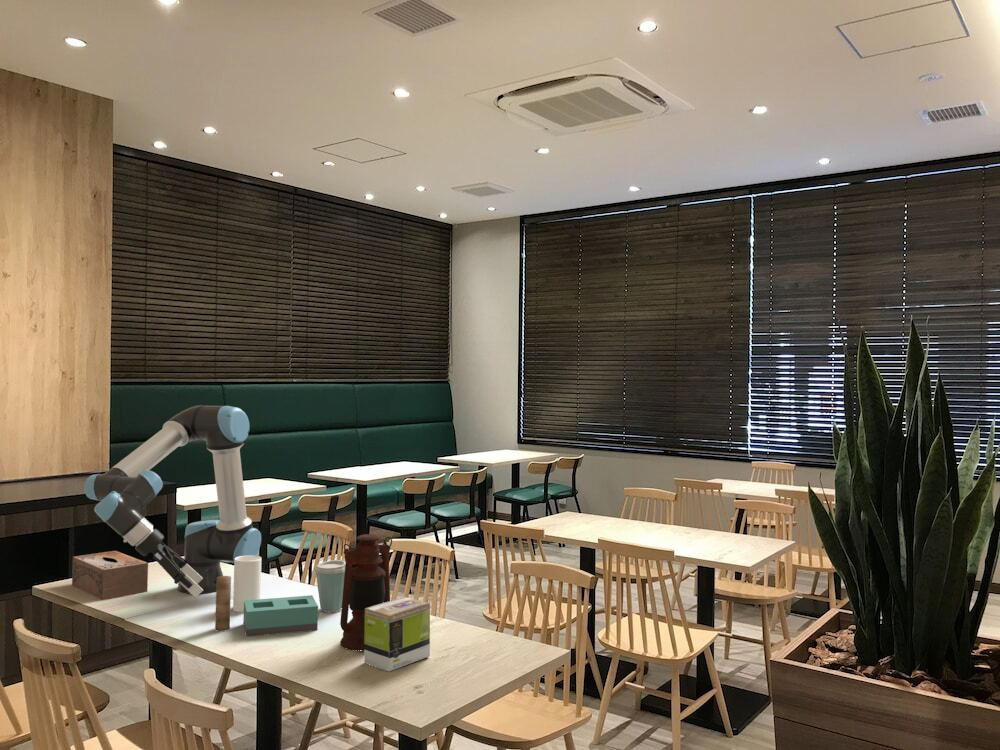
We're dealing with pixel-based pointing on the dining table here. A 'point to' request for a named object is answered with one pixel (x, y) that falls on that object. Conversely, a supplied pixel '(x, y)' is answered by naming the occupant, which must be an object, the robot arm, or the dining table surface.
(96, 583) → the tissue box cover
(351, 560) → the lantern
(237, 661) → the dining table surface
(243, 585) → the cup
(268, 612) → the socket block
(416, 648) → the tea box
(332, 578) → the disposable coffee cup
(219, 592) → the walnut pin
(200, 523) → the robot arm
